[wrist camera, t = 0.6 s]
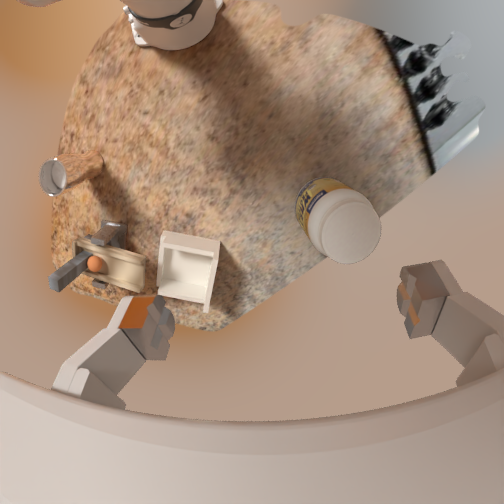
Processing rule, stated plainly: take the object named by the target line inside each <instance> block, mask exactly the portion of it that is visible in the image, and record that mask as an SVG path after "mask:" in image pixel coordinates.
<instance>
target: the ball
mask: <svg viewBox="0 0 504 504" xmlns="http://www.w3.org/2000/svg"><path fill="white" fill-rule="evenodd" d="M87 266H88V268H89V270H91V271H92V272H97V271H99V270H100V269H101V267H102V260H101V259H100V258H99V257H98V256H91V257H90V258H89V259H88V262H87Z"/></svg>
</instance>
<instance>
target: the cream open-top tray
mask: <svg viewBox="0 0 504 504" xmlns="http://www.w3.org/2000/svg"><path fill="white" fill-rule="evenodd" d="M219 249H220V241H217V240H212V239H207V238H202V237H197V236H192V235H186V234H181V233H176V232H171V231H165V230H164V232H163V233H162V235H161V240H160V249H159V259H158V270H157V282H156V286H158V287H159V289H158V295H162V296H167V297H172V298H177V299H182V300H187V301H193V302H198V303H203V304H204V308H203V312H205V313H208V310H209V304H210V299H211V294H212V289H213V284H214V279H215V274H216V269H217V264H218V259H219Z"/></svg>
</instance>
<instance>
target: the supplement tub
mask: <svg viewBox="0 0 504 504" xmlns="http://www.w3.org/2000/svg"><path fill="white" fill-rule="evenodd" d="M295 215H296V218H297V220H298V222H299V224H300V225H301V227H302V228H303V230H304V231H305V233H306V234H307V236H308V237H309V239H310V241H311V242H312V244H313V246H314V247H315V248H316V249H317V250H318V251H319V252H320V253H322V254H323V255H325V256H327V257H330V258H331V259H332V260H334V261H336V262H338V263H342V264H353V263H357V262H359V261H361V260H363V259H365V258H366V257H368V256H369V255H370V254H371V253H372V252H373V251H374V249H375V248H376V246H377V244H378V242H379V239H380V236H381V222H380V218H379V216H378V214H377V213H376V211H375V210H374V208H373V206H372V204H371V203H370V201H369V200H368V199H367V198H366V197H365V196H364V195H362V194H361V193H359V192H357V191H355V190H354V189H352V188H350V187H348V186H347V185H345V184H343V183H341V182H340V181H338V180H336V179H334V178H330V177H319V178H315V179H313V180H311V181H309V182H308V183H306V184H305V185H304V186H303V187H302V188H301V190H300V191H299V193H298V195H297V197H296V201H295Z"/></svg>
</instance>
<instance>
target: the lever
mask: <svg viewBox="0 0 504 504" xmlns="http://www.w3.org/2000/svg"><path fill="white" fill-rule="evenodd" d="M92 236H93V235H90V234H88V235H87V236H85V237H84V238H83V237H79V238H77V239H76V240H74V241H73V242H72V251H73V258H72V259H71V260H70V261H68V262H67V263H66V264H64V265H63V266H62V267H60V268H59V269H58V270H57V271H55V272H54V273H53V274H51V275H50V276H49V277H48V278H49V285H50V289H53V290H55V291H57V292H60V291H61V290H63V289H64V288H65V287H66V286H67V285H68V284H69V283H71V282H72V281H73V280H74V279H75V278H76V277H78V276H79V275H80V274H81V273H82V274H85V275H87V276H90V277H93V278H96V279H99V280H101V281H104V282H107V283H110V284H113V285H116V286H119V287H122V288H125V289H128V290H131V291H134V292H137V293H140V292H141V291H142V290H143V288H144V285H145V267H146V256H144V255H141V254H137V253H134V252H130V251H127V250H123V249H120V248H117V247H113V246H110V245H105V246H101V245H96V244H92V243H91V237H92ZM91 256H98V257H99V258H100V259H101V260H102V267H101V269H100V270H99V271H97V272H92V271H91V270H89V268H88V266H87V262H88V259H89V258H90V257H91Z"/></svg>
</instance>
